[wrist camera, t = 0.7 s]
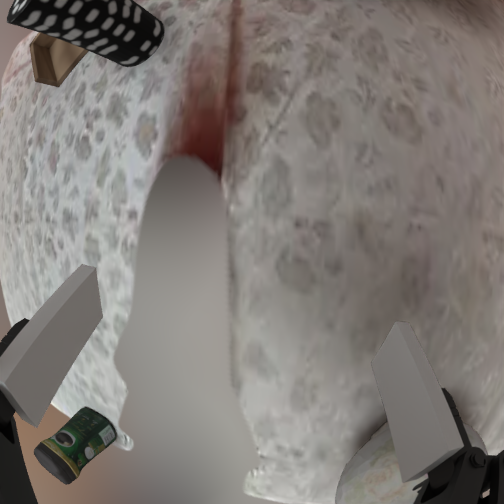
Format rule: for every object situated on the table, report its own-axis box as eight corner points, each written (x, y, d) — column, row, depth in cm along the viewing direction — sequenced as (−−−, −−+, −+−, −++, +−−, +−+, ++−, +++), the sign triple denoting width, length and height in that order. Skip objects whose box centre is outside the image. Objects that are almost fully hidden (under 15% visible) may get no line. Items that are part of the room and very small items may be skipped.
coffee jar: (90, 425, 49) (40, 468, 32) (81, 401, 48) (24, 444, 30) (121, 443, 47) (71, 493, 29) (113, 419, 45) (55, 472, 28)
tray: (91, 2, 30) (72, -8, 25) (107, 31, 30) (84, 19, 25) (49, 51, 34) (29, 45, 29) (58, 87, 35) (35, 81, 29)
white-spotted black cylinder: (143, 12, 28) (48, -45, 9) (175, 28, 28) (68, -46, 9) (108, 55, 31) (3, 16, 12) (135, 75, 30) (12, 29, 12)
